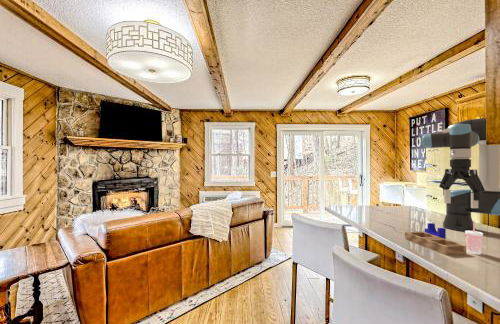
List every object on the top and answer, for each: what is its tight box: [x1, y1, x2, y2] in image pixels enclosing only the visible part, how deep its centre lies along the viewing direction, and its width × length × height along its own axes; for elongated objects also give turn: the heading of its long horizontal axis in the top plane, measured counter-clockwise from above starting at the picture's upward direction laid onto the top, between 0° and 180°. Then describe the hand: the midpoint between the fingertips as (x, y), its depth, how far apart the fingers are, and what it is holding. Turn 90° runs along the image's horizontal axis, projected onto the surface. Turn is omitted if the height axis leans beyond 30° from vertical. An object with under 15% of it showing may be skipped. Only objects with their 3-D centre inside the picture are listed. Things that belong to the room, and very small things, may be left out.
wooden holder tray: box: [404, 231, 467, 256], centre depth 124 cm, size 24×10×4 cm, turn 8°
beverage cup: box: [464, 220, 484, 255], centre depth 115 cm, size 6×6×14 cm
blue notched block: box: [424, 222, 447, 239], centre depth 140 cm, size 12×4×6 cm, turn 170°
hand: (460, 205), depth 118 cm, fingers open, 13 cm apart
